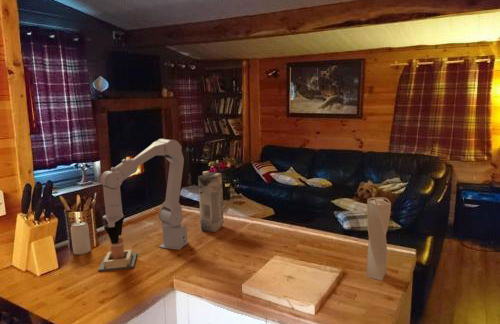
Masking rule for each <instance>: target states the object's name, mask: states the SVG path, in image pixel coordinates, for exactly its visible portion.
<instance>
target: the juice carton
mask: <svg viewBox="0 0 500 324" xmlns="http://www.w3.org/2000/svg"><path fill="white" fill-rule="evenodd" d="M222 176H223V175H222V173H221V172H210V171H209V170H206V171H205V170H204V171H202V175H198V177H197V182H198V200H199V221H200V222H199V223H200V229H201V232H212V233H217V231H218V230H220V229H221V228H222V227H223V225H224V201H223V177H222Z"/></svg>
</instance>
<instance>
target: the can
mask: <svg viewBox="0 0 500 324" xmlns="http://www.w3.org/2000/svg"><path fill="white" fill-rule="evenodd" d="M83 221H84V220H83ZM76 222H77V221H75V222H72V223H71V226H70V237H71V244H72V245H71V246H72V253H73V254H74V255H77V256H81V255H85V254H88V253H90V251H91V240H90V239H91V238H90V230H89V224H88V223H87V221H84V222H81V223H76Z"/></svg>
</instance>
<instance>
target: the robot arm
mask: <svg viewBox="0 0 500 324" xmlns="http://www.w3.org/2000/svg"><path fill="white" fill-rule="evenodd" d="M182 148H183V147H182V145H181V143H179V142H178V140H176V139H167V138H159V139H157V140H155V141H153V142H152V143H151V144H150V145H148V147H146V148H145V149H144V150H142V151H141V152H139V154H137V155H136V156H135V157H133V158H123V159H122V160H121V162H120V163H118V164H117V165H116V166H115V167H114V166H112V167H111V168H110V170H106V171H104V172H103V173H101V175H100V178H99V183H100V184H101V185H102V188H103V189H102V190H103V199H104V200H103V201H104V207H105V209H104V210H105V214H104V215H102V220H106V221H107V224H104V227H103V228H104V230H105V232H106V233H107V234H108V237H109V240H110V241H111V243H112V244H116V243H118V240H119V238H120V237H119V236H122V232H123V224H124V221H125V220H124V219H125V217H126V215H124V213H123V204H122V203H123V202H122V192H121V186H122V184H123V182H124V181H125V180H126V179H127V178H129V177H131V176H132V175H133V174H135V173H136V172H137V171H138V168H139V167H140V165H143V164H144V163H146V162H148V161H149V160H151V159H153V158H154V157H155V156H163V157H165V159H166V160H167V161H168V162H169V168H168V175H167V182H166V183H167V185H166V192H165V200H164V201H163V202H162V203H161V207H160V209H159V211H158V215H157V216H158V219H159V220H160V221H161V229H162V241H163V242H162V243H161V244H160V245H159V246H158V248H163V249H168V250H169V249H170V250H179V251H180V250H181V249H182V248H183V247H185V246H186V245H188V244H189V241H188V230H187V226H185V225H184V224H183V225H182V221H183V220H184V215H183V212H182V210H183V208H182V205H181V203H180V195H181V187H182V179H183V170H184V165H185V164H184V162H185V158H184V155H183V152H182Z"/></svg>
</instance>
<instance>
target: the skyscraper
mask: <svg viewBox="0 0 500 324" xmlns="http://www.w3.org/2000/svg"><path fill="white" fill-rule="evenodd" d="M385 200H386V201H385ZM366 201H367V202H366V222H367V223H366V224H367V232H368V233H367V234H368V241H367V242H368V243H367V251H366V269H365V270H366V271H365V275H366V276H365V277H366V278H368V279H373V280H377V281H381V282H383V281H384V278H385V276H386V275H387V268H388V245H387V244H388V243H387V232H388V228H389V223H390V217H391V211H392V210H391V208H392V203H391V201H390V200H389V198H387V197H381V196H379V197H369V198H367V199H366Z"/></svg>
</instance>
